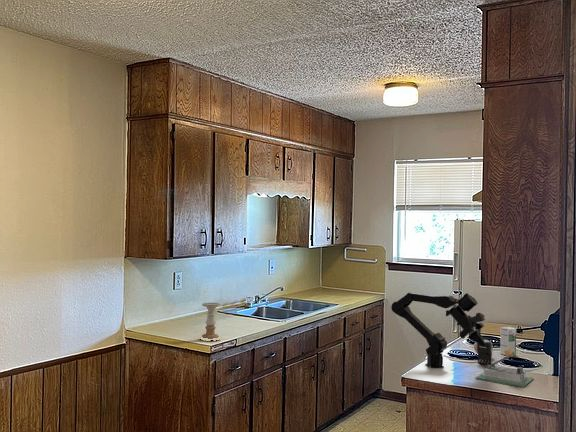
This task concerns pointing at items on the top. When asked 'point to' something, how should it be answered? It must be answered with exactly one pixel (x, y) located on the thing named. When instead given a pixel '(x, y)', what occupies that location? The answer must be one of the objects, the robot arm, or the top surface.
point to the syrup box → (508, 340)
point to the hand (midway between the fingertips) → (484, 345)
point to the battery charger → (485, 353)
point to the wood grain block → (508, 353)
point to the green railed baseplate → (505, 376)
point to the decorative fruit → (476, 346)
